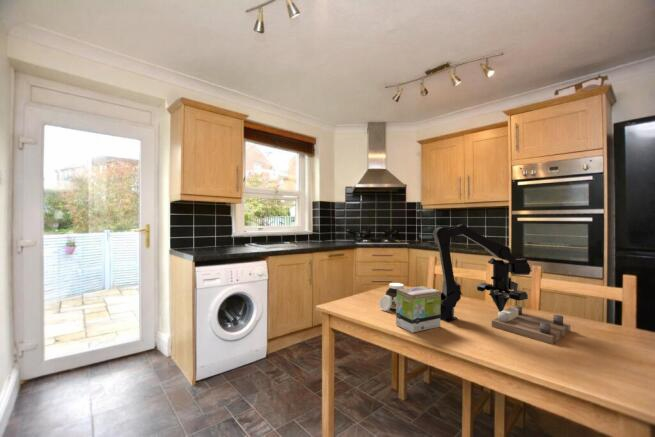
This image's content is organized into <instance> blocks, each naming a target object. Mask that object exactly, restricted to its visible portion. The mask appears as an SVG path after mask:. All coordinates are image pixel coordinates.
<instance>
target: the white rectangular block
mask: <svg viewBox="0 0 655 437" xmlns="http://www.w3.org/2000/svg"><path fill="white" fill-rule="evenodd" d="M516 317H518V309H516V308H514V307H508V308H504V309H503V311H501V312H500V311H498V312H497V318H498V321H500V322H509V321H510V320H512V319H514V318H516Z"/></svg>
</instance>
